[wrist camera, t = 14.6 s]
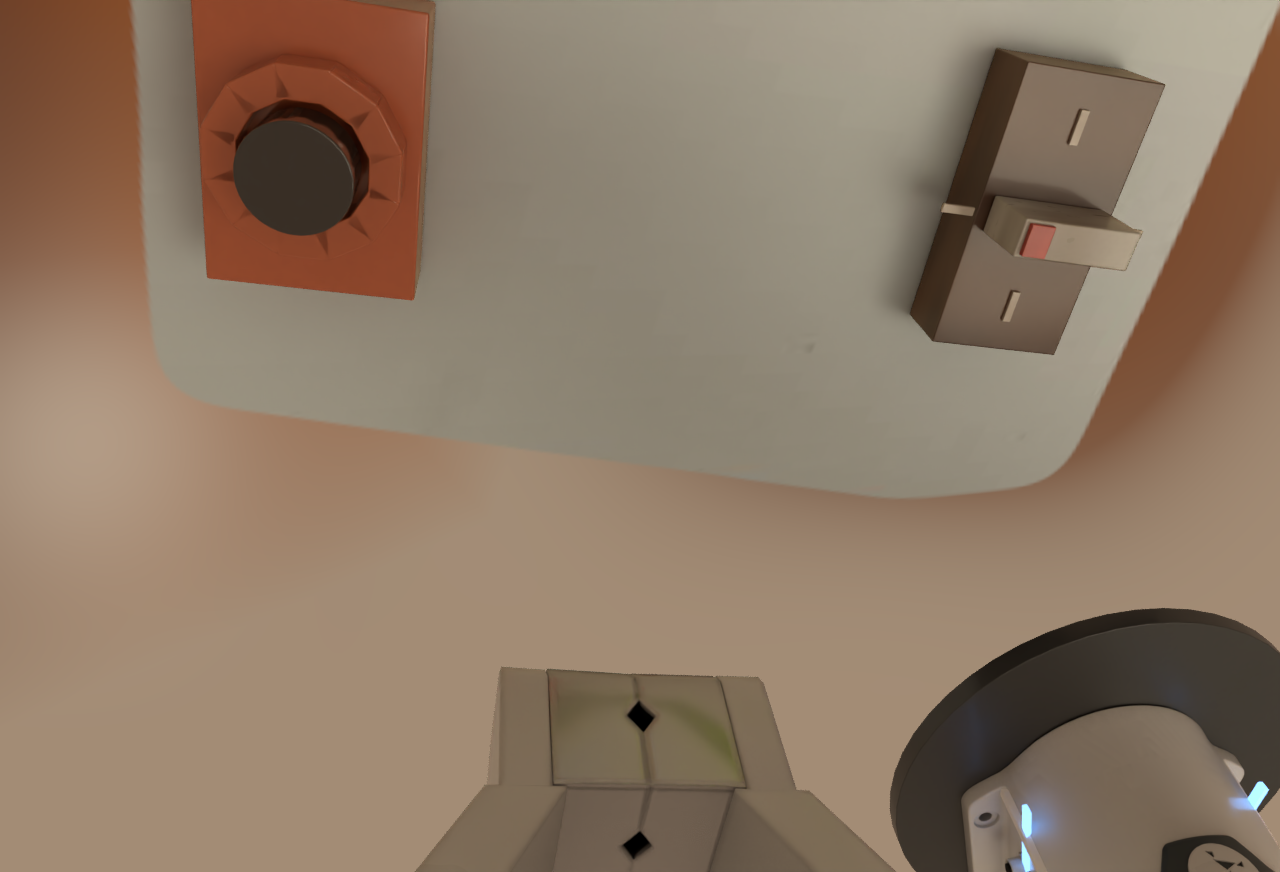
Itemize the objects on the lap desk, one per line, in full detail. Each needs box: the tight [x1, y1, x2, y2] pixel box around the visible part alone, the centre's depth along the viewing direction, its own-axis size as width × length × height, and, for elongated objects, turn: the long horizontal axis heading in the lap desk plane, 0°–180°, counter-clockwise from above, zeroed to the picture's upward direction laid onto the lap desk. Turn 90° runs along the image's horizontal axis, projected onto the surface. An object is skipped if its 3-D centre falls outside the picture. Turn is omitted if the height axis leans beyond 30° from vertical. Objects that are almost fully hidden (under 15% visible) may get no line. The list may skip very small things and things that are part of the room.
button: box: [233, 107, 362, 236], centre depth 34 cm, size 4×4×2 cm
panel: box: [910, 48, 1165, 355], centre depth 43 cm, size 12×9×3 cm
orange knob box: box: [191, 0, 436, 300], centre depth 37 cm, size 11×8×5 cm
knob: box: [983, 196, 1141, 271], centre depth 40 cm, size 5×2×3 cm, turn 81°
